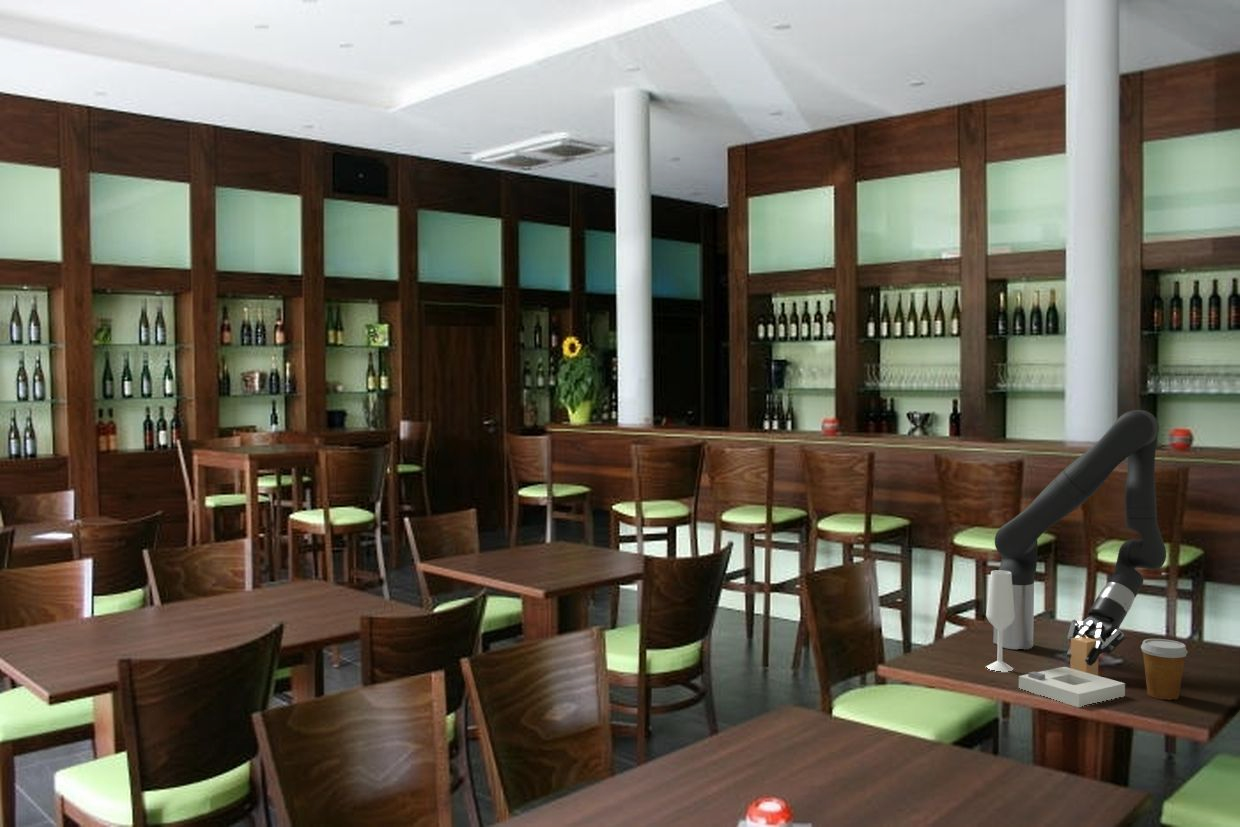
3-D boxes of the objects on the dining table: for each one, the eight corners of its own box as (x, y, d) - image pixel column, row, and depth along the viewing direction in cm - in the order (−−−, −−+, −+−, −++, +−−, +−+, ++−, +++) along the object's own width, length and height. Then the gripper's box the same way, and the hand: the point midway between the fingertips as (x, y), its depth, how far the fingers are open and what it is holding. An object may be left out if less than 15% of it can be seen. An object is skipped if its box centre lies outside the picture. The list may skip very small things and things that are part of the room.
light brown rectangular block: (1070, 675, 262) (1070, 638, 261) (1082, 672, 264) (1082, 636, 264) (1086, 680, 258) (1086, 642, 258) (1098, 677, 260) (1098, 640, 260)
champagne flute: (1016, 672, 264) (1018, 575, 263) (987, 671, 265) (989, 574, 264) (1011, 665, 271) (1012, 570, 270) (983, 664, 272) (984, 569, 271)
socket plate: (1018, 688, 251) (1018, 671, 251) (1064, 678, 259) (1064, 662, 259) (1078, 707, 237) (1078, 689, 237) (1124, 696, 245) (1125, 679, 245)
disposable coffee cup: (1190, 704, 239) (1191, 650, 239) (1142, 699, 243) (1143, 646, 242) (1182, 692, 248) (1184, 640, 248) (1137, 688, 252) (1138, 636, 251)
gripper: (1080, 590, 270) (1046, 644, 264) (1132, 601, 258) (1098, 658, 252) (1093, 609, 273) (1060, 663, 267) (1145, 620, 261) (1112, 677, 255)
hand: (1079, 660), depth 260 cm, fingers closed on light brown rectangular block, 4 cm apart
